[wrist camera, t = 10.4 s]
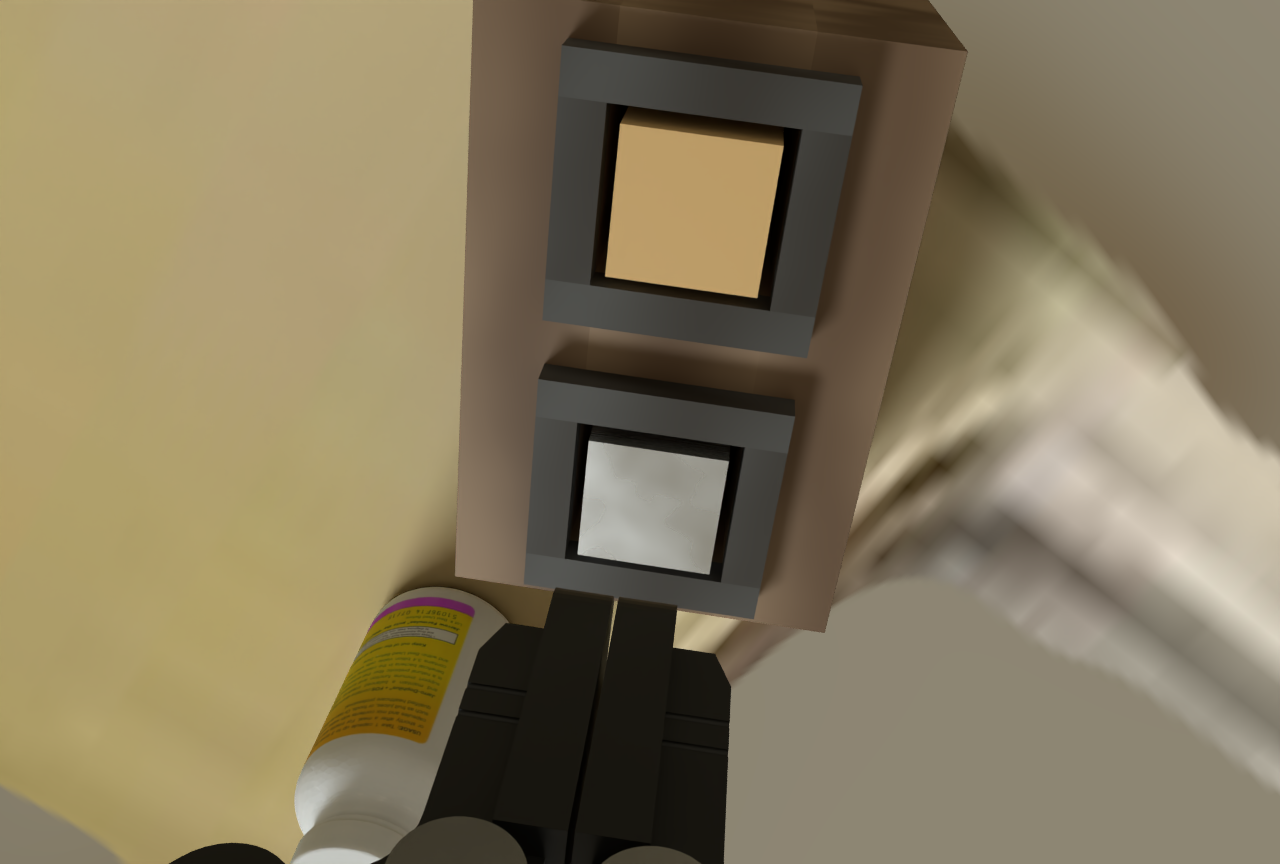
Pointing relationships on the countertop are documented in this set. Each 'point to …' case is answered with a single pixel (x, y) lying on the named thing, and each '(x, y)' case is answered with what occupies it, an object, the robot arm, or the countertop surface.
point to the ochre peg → (693, 200)
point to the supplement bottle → (390, 726)
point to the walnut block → (681, 317)
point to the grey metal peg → (652, 499)
